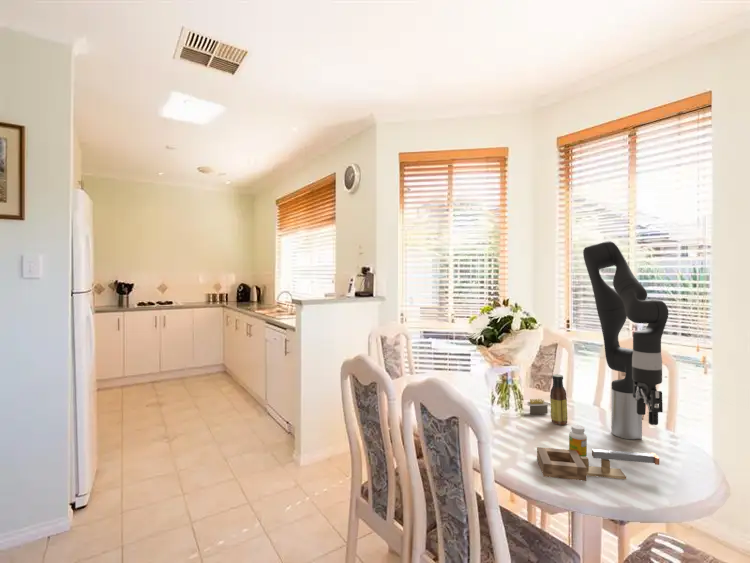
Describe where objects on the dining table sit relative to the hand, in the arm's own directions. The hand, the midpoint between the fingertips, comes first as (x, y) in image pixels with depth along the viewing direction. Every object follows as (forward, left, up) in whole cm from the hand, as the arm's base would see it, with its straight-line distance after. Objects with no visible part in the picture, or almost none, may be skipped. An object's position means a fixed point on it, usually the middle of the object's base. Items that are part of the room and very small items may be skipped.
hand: (646, 419), depth 121 cm
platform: (+23, -52, -19) cm, 60 cm away
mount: (+12, 0, -18) cm, 22 cm away
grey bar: (+6, 0, -13) cm, 14 cm away
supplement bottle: (+16, -12, -18) cm, 27 cm away
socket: (+24, 0, -18) cm, 30 cm away
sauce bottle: (+16, -42, -18) cm, 49 cm away
